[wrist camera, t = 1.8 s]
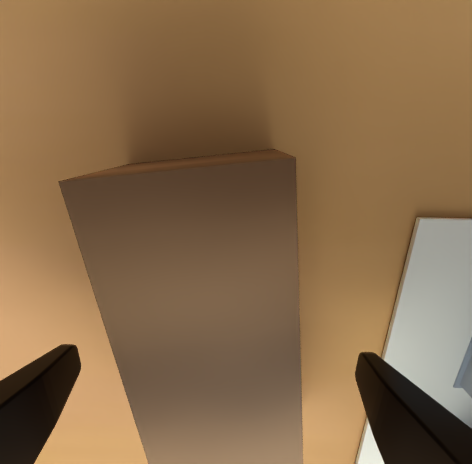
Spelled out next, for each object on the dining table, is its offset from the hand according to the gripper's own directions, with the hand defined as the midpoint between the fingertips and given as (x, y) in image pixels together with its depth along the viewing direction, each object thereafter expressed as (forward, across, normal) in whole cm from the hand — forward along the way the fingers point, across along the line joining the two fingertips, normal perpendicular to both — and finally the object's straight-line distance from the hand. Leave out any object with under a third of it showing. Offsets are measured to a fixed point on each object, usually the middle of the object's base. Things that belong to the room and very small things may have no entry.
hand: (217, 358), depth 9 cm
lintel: (+3, 0, 0) cm, 3 cm away
